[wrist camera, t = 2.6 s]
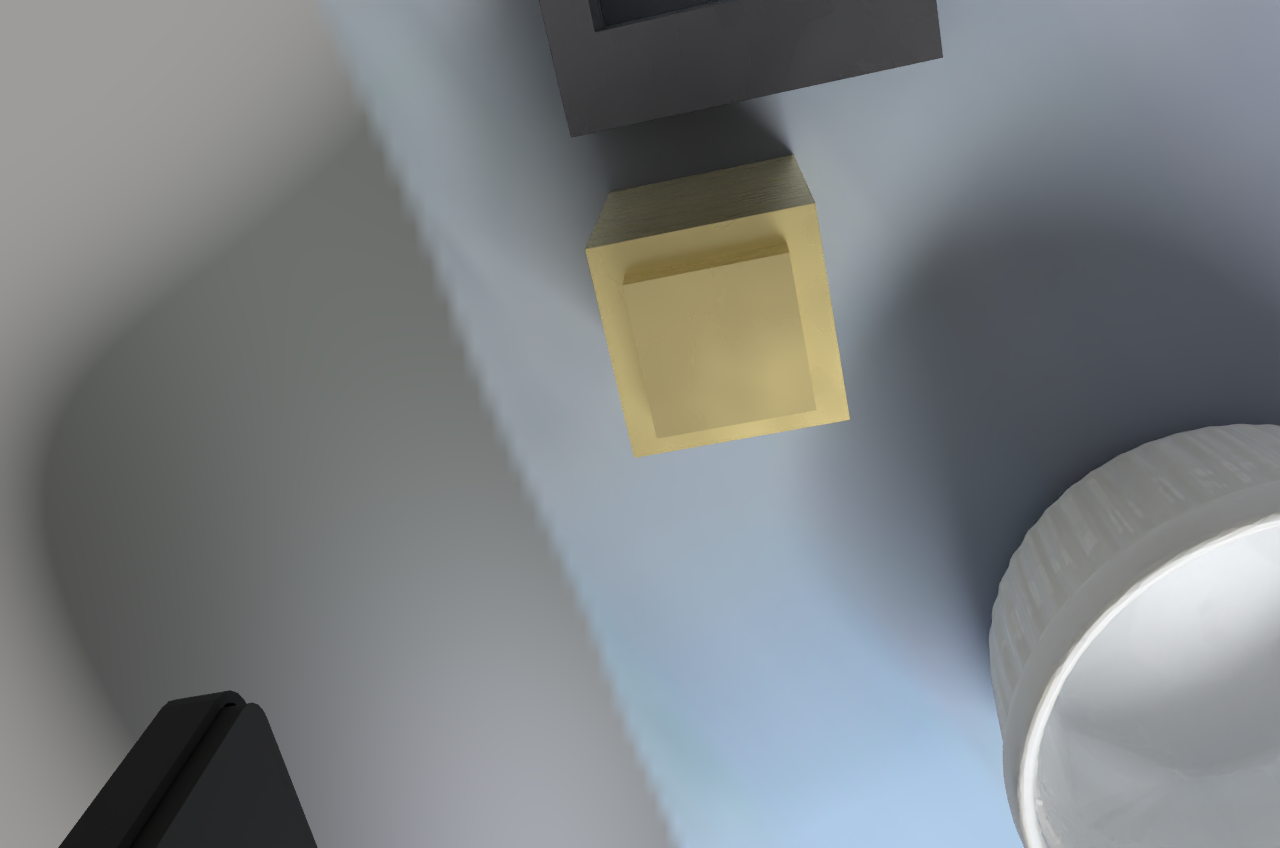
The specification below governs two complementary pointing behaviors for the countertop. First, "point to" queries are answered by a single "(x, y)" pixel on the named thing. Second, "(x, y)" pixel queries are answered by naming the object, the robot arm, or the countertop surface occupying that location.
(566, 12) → the grey board with holes
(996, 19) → the countertop surface
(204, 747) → the robot arm
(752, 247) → the yellow rectangular block
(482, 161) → the countertop surface
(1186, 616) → the ramekin
